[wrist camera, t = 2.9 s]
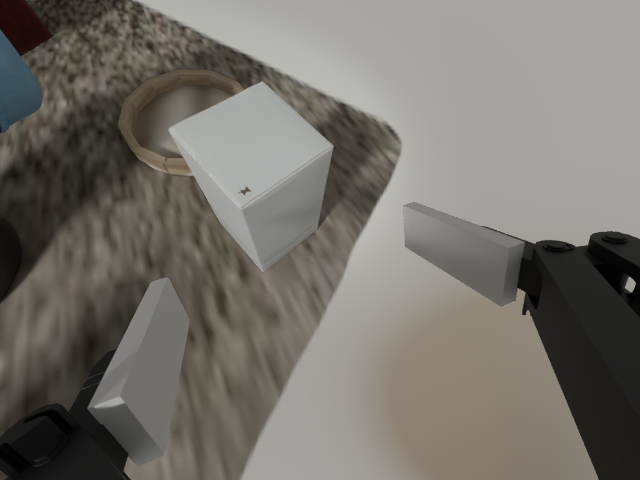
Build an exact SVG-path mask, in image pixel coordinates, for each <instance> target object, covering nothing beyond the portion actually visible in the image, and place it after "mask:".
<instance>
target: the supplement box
mask: <svg viewBox="0 0 640 480" xmlns="http://www.w3.org/2000/svg"><path fill="white" fill-rule="evenodd" d="M169 132H170V134H171V136H172V138H173V140H174V142H175V143H176V145H177V147H178V149H179V150H180V152H181V154H182V156H183V158H184V159H185V161H186V163H187V165H188V166H189V168H190V170H191V172H192V173H193V175H194V177H195V179H196V180H197V182H198V184H199V186H200V188H201V189H202V191H203V193H204V195H205V196H206V198H207V200H208V202H209V203H210V205H211V207H212V209H213V211H214V212H215V214H216V216H217V218H218V219H219V221H220V223H221V224H222V225H223V226H224V228H225V229H226V230H227V231H228V232H229V233H230V235H231V236H232V237H233V238H234V239H235V241H236V242H237V243H238V244H239V245H240V246H241V248H242V249H243V250H244V251H245V252H246V253H247V255H248V256H249V257H250V258H251V259H252V260H253V262H254V263H255V264H256V265H257V266H258V267H259V269H260V270H261V271H262V272H264V271H266V270H267V269H268V268H270V267H271V266H272V265H273V264H275V263H276V262H277V261H278V260H280V259H281V258H282V257H283V256H285V255H286V254H287V253H288V252H290V251H291V250H292V249H293V248H295V247H296V246H297V245H299V244H300V243H301V242H302V241H304V240H305V239H306V238H307V237H309V236H310V235H311V234H312V233H314V232H315V231H316V230H317V228H318V223H319V218H320V213H321V207H322V202H323V197H324V192H325V187H326V182H327V176H328V172H329V167H330V162H331V157H332V152H333V147H334V146H333V145H332V144H331V143H330V142H329V141H328V140H327V139H326V138H324V137H323V136H322V135H321V134H320V133H319V132H318V131H317V130H316V129H314V128H313V127H312V126H311V125H310V124H309V123H308V122H307V121H306V120H305V119H304V118H302V117H301V116H300V115H299V114H298V113H297V112H296V111H295V110H294V109H292V108H291V107H290V106H289V105H288V104H287V103H286V102H285V101H284V100H283V99H281V98H280V97H279V96H278V95H277V94H276V93H275V92H274V91H273V90H272V89H270V88H269V87H268V86H267V85H266V84H265V83H264V82H263V81H262V82H260V83H258V84H256V85H254V86H251V87H249V88H247V89H245V90H244V91H241V92H240V93H238V94H236V95H234V96H232V97H230V98H228V99H226V100H224V101H222V102H220V103H218V104H216V105H214V106H212V107H210V108H208V109H206V110H204V111H201V112H199V113H197V114H195V115H193V116H191V117H189V118H187V119H185V120H183V121H181V122H179V123H177V124H175V125H173V126H172V127H170V128H169Z"/></svg>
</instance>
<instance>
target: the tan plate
mask: <svg viewBox="0 0 640 480" xmlns="http://www.w3.org/2000/svg"><path fill="white" fill-rule="evenodd" d="M147 80H148V81H147ZM147 80H146V81H144V82H143V83H142V84H141V85H140V86H139V87H138V88H137V89H135V90H134V91H133V92H132V93H131V94H130V95H129V96H128V97H127V98H125V99H124V101H123V105H122V109H121V113H120V118H119V122H118V128H119V130H120V131H121V133H122V135H123V136H124V138H125V140H126V142H127V143H128V145H129V147H130V149H131V150H132V152H133V153H134V154H135V155H136V156H137V158H138V159H139V160H140V161H142V162H144V163H146V164H147V165H149V166H150V167H152V168H154V169H156V170H158V171H161V172H163V173H166V174H170V175H176V176H189V177H191V176H194V175H193V173H192V172H191V170H190V168H189V166H188V165H187V163H186V161H185V159H184V158H183V156H182V154H181V152H180V150H179V149H178V147H177V145H176V143H175V142H174V140H173V138H172V136H171V134H170V132H169V128H170V127H172V126H173V125H175V124H177V123H179V122H181V121H183V120H185V119H187V118H189V117H191V116H193V115H195V114H197V113H199V112H201V111H204V110H206V109H208V108H210V107H212V106H214V105H216V104H218V103H220V102H222V101H224V100H226V99H228V98H230V97H232V96H234V95H236V94H238V93H240V92H241V91H244V89H243V87H242V86H241V85H240V84H239V82H237V81H235V80H233V79H231V78H228V77H226V76H223V75H221V74H219V73H216V72H214V71H210V70H184V69H178V70H174V71H171V72H168V73H165V74H162V75H159V76H156V77H153V78H150V79H147Z"/></svg>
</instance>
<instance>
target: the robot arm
mask: <svg viewBox="0 0 640 480" xmlns="http://www.w3.org/2000/svg"><path fill="white" fill-rule="evenodd" d="M42 98H43V97H42V91H41V88H40V86H39V84H38V82H37V80H36V78H35V77H34V75H33V74H32V72H31V71H30V69H29V68H28V66H27V65H26V63H25V62H24V61H23V59H22V58H21V56H20V55H19V54H18V52H17V51H16V50H15V48H14V47H13V45H12V44H11V43H10V41H9V40H8V39H7V38H6V36H5V35H4V34H3V32H2V31H1V30H0V133H4V132H6V130H8V129H9V126H10V125H12V124H14V123H16V122H17V121H19V120H21V119H23V118H25V117H27V116H29V115H30V114H32V113H34V112H36V111H37V110H38V109H39V108H40V106H41V103H42ZM403 213H404V231H405V247H406V248H408V249H410V250H411V251H413V252H415V253H416V254H418V255H419V256H421V257H422V258H424V259H426V260H427V261H429V262H430V263H432V264H434V265H435V266H437V267H438V268H440V269H442V270H443V271H445V272H447V273H448V274H450V275H451V276H453V277H455V278H456V279H458V280H459V281H461V282H462V283H464V284H466V285H467V286H469V287H471V288H472V289H474V290H475V291H477V292H478V293H480V294H482V295H483V296H485V297H486V298H488V299H490V300H491V301H493V302H495V303H496V304H498V305H499V306H504V305H506V304H508V303H510V302H513V301H515V300H516V294H517V288H519V289H521V290H523V291H525V292H526V293H525V299H524V304H523V310H522V314H523V315H526V311H527V310H529V311H530V315H531V316H532V319H533V321H534V324H535V326H536V328H537V331H538V333H539V336H540V338H541V340H542V343H543V345H544V348H545V350H546V353H547V355H548V358H549V360H550V362H551V365H552V367H553V369H554V372H555V374H556V377H557V379H558V382H559V384H560V386H561V389H562V391H563V394H564V396H565V399H566V401H567V403H568V406H569V408H570V411H571V413H572V416H573V418H574V420H575V423H576V425H577V428H578V430H579V433H580V435H581V437H582V440H583V442H584V445H585V447H586V449H587V452H588V454H589V457H590V459H591V462H592V464H593V466H594V469H595V471H596V474H597V476H598V479H599V480H640V239H638V238H636V237H633V236H630V235H627V234H622V233H620V232H613V231H608V232H598V233H594V234H592V235H591V236H590V240H589V244H588V245H587V246H580V247H575V246H574V245H572V244H569V243H566V242H562V241H555V240H545V241H540V242H536V244H533V243H531V242H528V241H525V240H522V239H519V238H517V237H514V236H510V235H508V234H506V235H505V233H502V232H499V231H498V232H497V230H494V229H491V228H488V227H484V226H479V225H476V224H473V223H471V222H468V221H465V220H462V219H459V218H457V217H454V216H451V215H448V214H445V213H443V212H440V211H437V210H434V209H432V208H429V207H426V206H423V205H420V204H418V203H415V202H413V203H410V204H407V205H404V206H403ZM20 251H21V250H20V242H19V238H18V236H17V233H16V232H15V230H14V229H13V227H12V226H11V225H10V224H9V223H8V222H7V221H5V220H4V219H3V218H1V217H0V299H1V297H2V296H3V295H4V293H5V292H6V291H7V289H8V287H9V286H10V284H11V282H12V281H13V279H14V276H15V274H16V272H17V269H18V266H19V261H20ZM629 276H630V277H631V278H632V279H633V280H634V281H635V282H636V285H635V288H634V290H633V292H632V293H631V292H629V291H628V290H626V289H625V285H626V283H627V280H628V277H629ZM189 323H190V320H189V318H188V316H187V314H186V312H185V310H184V308H183V306H182V304H181V302H180V300H179V298H178V296H177V294H176V292H175V290H174V288H173V286H172V284H171V282H170V280H169V278H168V277H166V278H162V279H159V280H156V281H152V282H151V283H150V285H149V287H148V289H147V291H146V293H145V295H144V297H143V299H142V301H141V303H140V305H139V307H138V309H137V311H136V313H135V315H134V317H133V319H132V321H131V323H130V325H129V327H128V329H127V331H126V333H125V335H124V337H123V339H122V340H121V342H120V344H119V346H118V348H117V349H115V350H113V351H110V352H107V353H106V354H105V355H104V356H103V357H102V358H101V360H100V361H99V362H98V363H97V364H96V365H95V366H94V368H93V370H92V372H91V373H90V375H89V377H88V380H86V382H85V384H84V386H83V388H82V391H80V393H79V395H78V396H77V398H76V400H75V402H74V403H73V405H72V407H71V409H70V411H69V412H68V411H67V410H66V409H65V408H64V407H63V406H62V405H60V404H51V405H46V406H44V407H42V408H39V409H37V410H35V411H33V412H32V413H30V414H28V415H27V416H25V417H24V418H22V419H21V420H19V421H18V422H17V423H16V424H14V425H13V426H12V427H11V428H9V429H8V430H7V431H6V432H5V433H4V434H3V435H2V436H1V437H0V470H1V471H2V472H4V473H5V474H6V475H8V476H9V478H7V479H6V480H131V479H130V478H129V477H128V476H127V475H126V474H125V473H124V472H123V470H124V467H125V464H126V461H127V457H128V456H129V457H130V459H131V460H132V461H133V462H134V463H135V464H136V465H137V466H139V465H142V464H144V463H146V462H148V461H151V460H153V459H155V458H157V457H160V456H162V455H164V454H165V449H166V443H167V438H168V433H169V428H170V422H171V417H172V412H173V407H174V401H175V396H176V391H177V386H178V381H179V375H180V370H181V365H182V360H183V354H184V349H185V344H186V339H187V333H188V328H189Z"/></svg>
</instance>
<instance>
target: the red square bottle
mask: <svg viewBox="0 0 640 480" xmlns="http://www.w3.org/2000/svg"><path fill="white" fill-rule="evenodd" d="M0 30H1V31H2V32H3V34H4V35H5V36H6V38H7V39H8V40H9V41H10V43H11V44H12V45H13V47H14V48H15V50H16V51H17V52H18V54H19V55H20V56H21V55H23V54H25V53H26V52H28V51H29V50H31V49H33V48H34V47H36V46H38V45H39V44H41V43H42V42H44V41H46V40H47V39H49V38H51V37H52V36H53V35H52V34H51V33H50V31H49V30H48V29H47V27H46V26H45V25H44V23H43V22H42V21H41V20H40V18H39V17H38V16H37V14H36V13H35V12H34V10H33V9H32V8H31V6H30V5H29V4H28V2H27V1H26V0H0Z"/></svg>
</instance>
